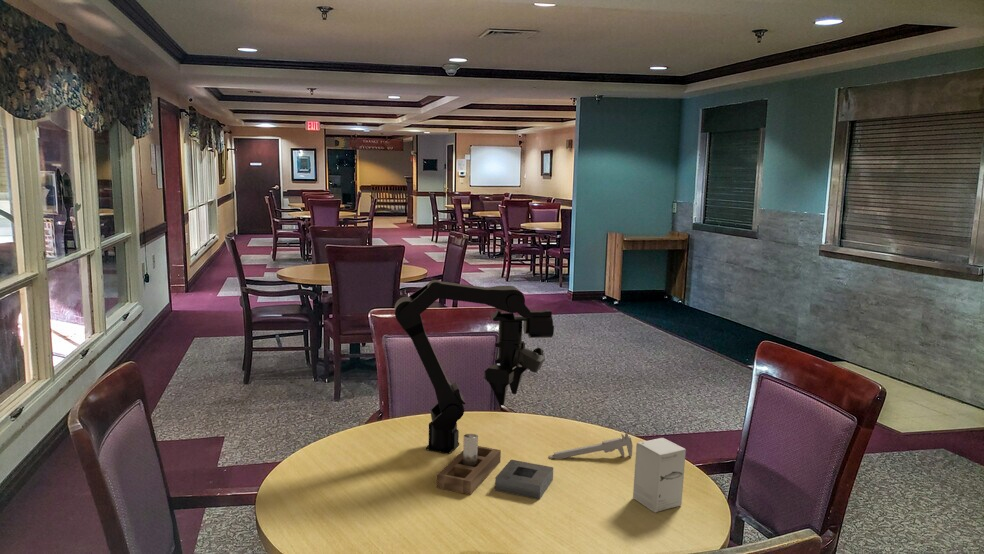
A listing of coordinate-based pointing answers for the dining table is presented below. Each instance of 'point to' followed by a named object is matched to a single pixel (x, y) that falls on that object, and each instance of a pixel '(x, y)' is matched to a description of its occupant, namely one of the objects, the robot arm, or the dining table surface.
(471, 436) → the metal peg
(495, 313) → the robot arm
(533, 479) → the socket block
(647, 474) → the supplement box
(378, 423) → the dining table surface
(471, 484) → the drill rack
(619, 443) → the caliper
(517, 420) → the dining table surface
